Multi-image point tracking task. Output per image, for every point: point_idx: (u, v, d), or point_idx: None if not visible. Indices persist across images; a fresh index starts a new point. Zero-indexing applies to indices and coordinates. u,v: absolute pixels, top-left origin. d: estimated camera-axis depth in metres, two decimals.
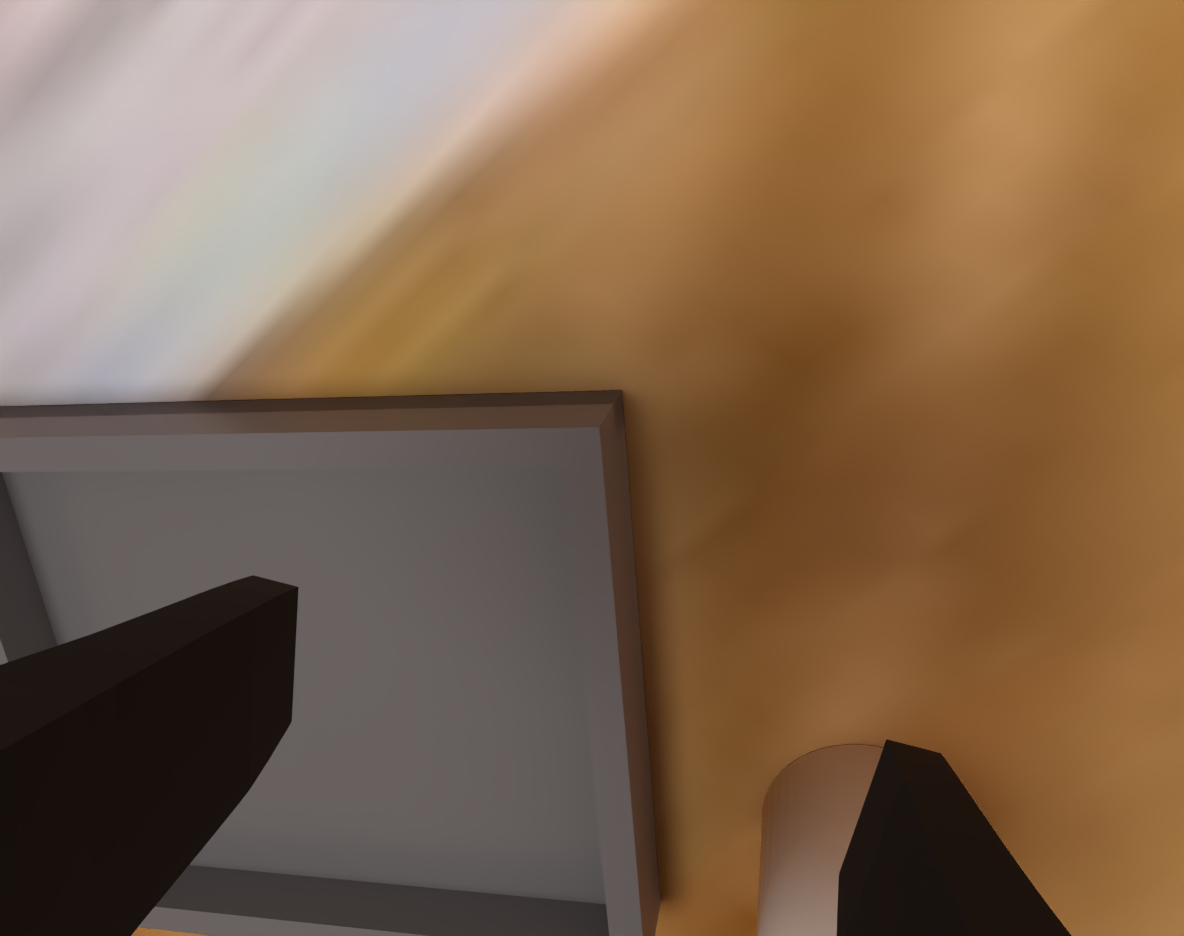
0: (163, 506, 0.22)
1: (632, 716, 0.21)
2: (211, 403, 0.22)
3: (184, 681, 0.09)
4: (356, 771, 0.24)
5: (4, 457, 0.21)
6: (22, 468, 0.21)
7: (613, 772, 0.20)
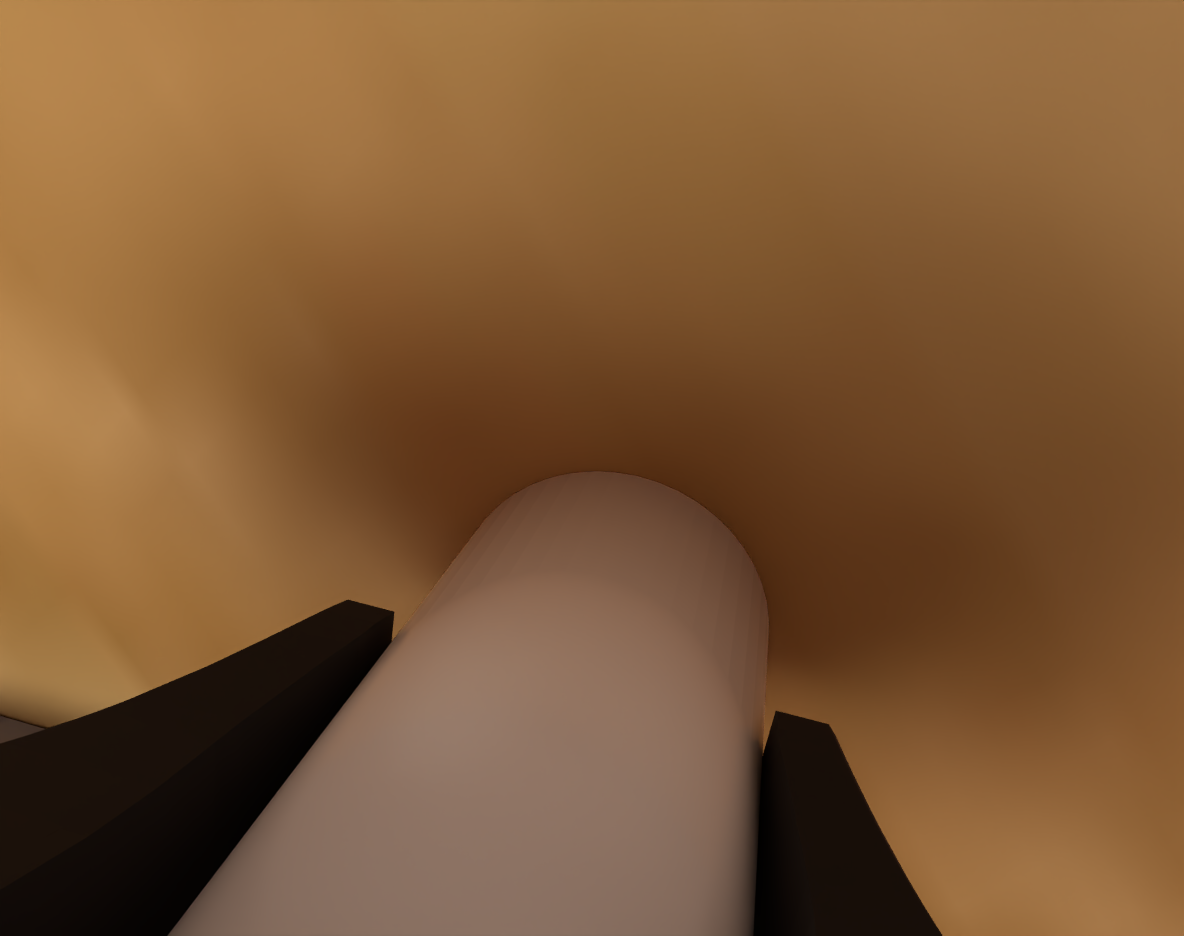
0: None
1: None
2: None
3: (298, 713, 0.09)
4: None
5: None
6: None
7: None
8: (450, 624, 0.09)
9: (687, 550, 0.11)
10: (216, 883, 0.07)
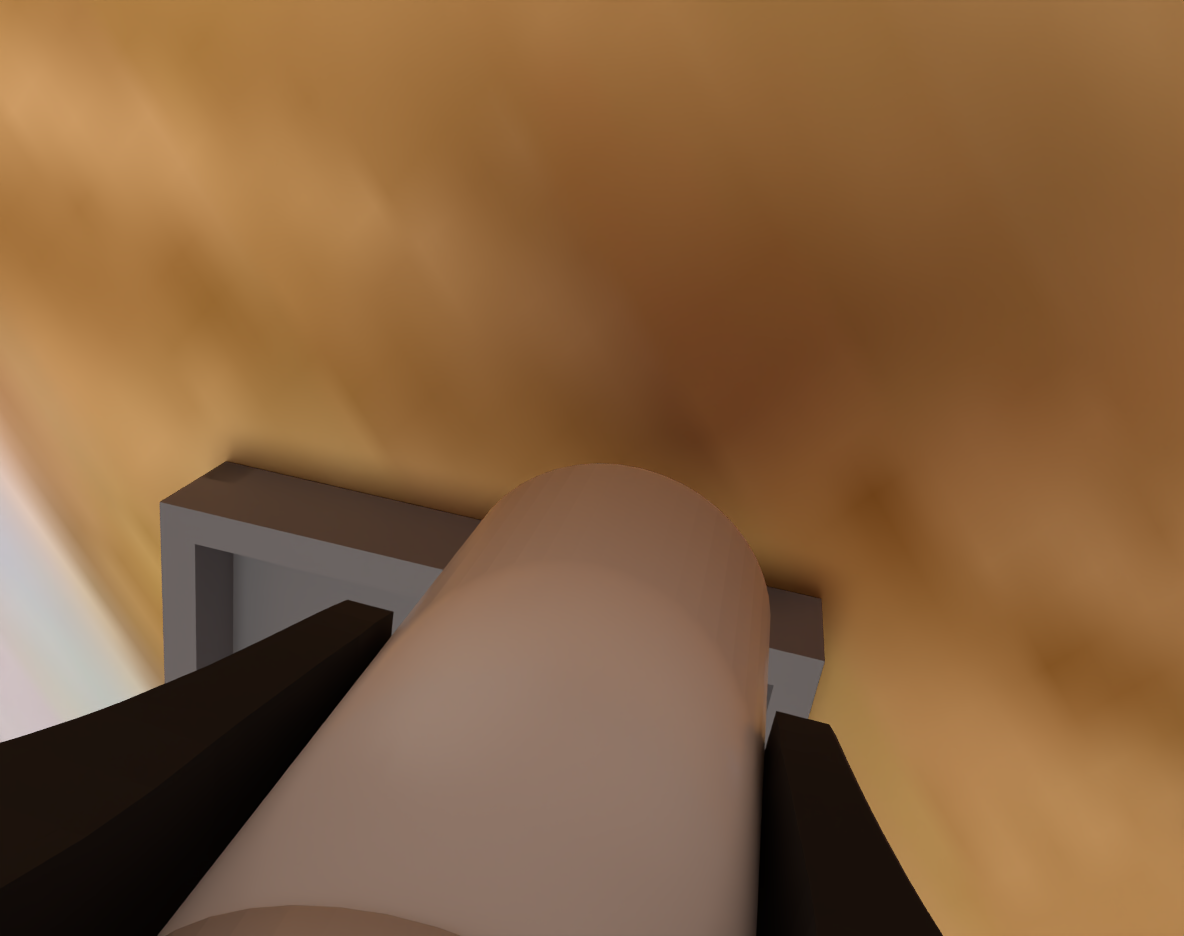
0: None
1: None
2: None
3: (298, 713, 0.09)
4: None
5: None
6: None
7: None
8: (459, 608, 0.09)
9: (691, 540, 0.11)
10: (230, 854, 0.07)
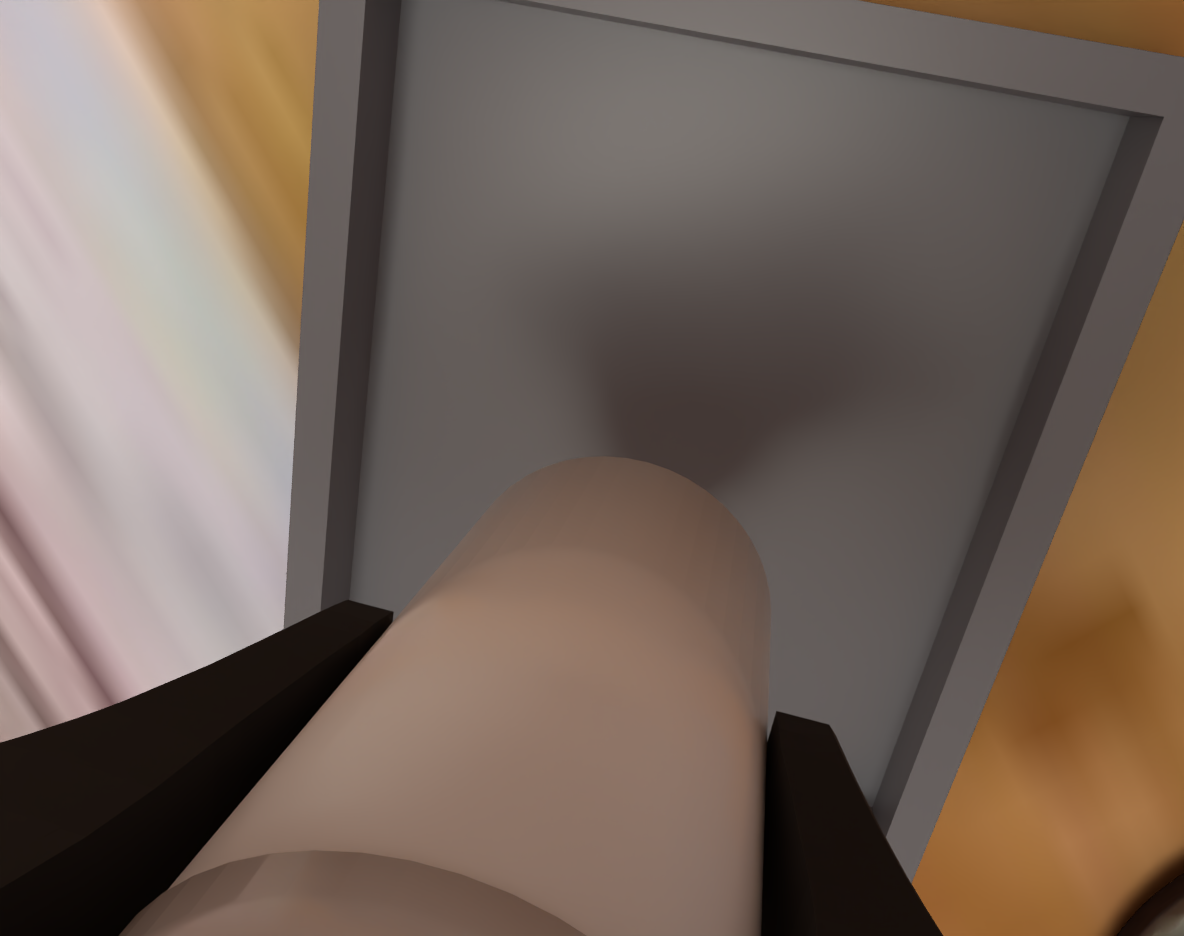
0: (421, 516, 0.20)
1: None
2: None
3: (298, 713, 0.09)
4: (800, 442, 0.18)
5: None
6: (315, 613, 0.20)
7: (811, 17, 0.14)
8: (471, 584, 0.09)
9: (699, 532, 0.12)
10: (244, 809, 0.07)
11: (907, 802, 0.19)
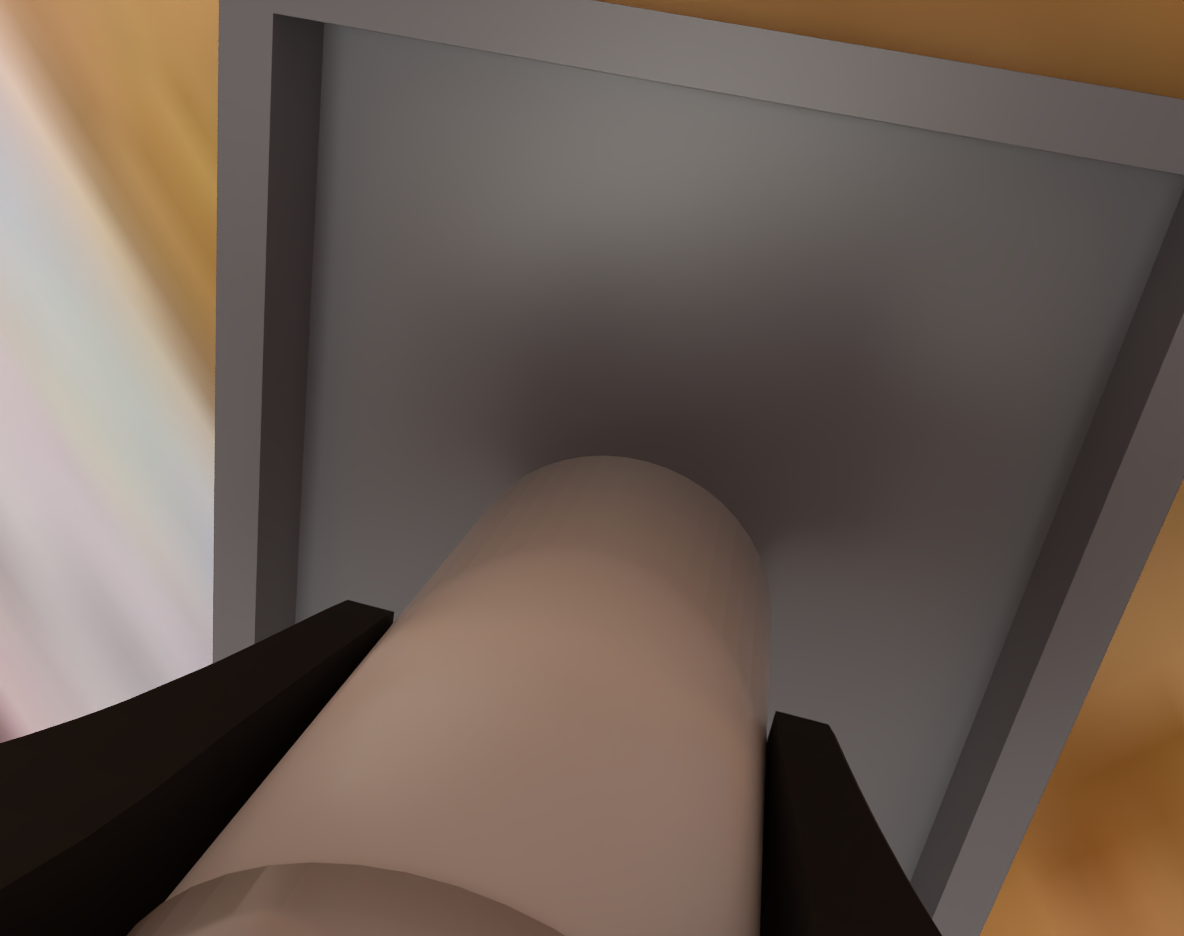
0: None
1: None
2: None
3: (298, 713, 0.09)
4: (797, 546, 0.15)
5: None
6: None
7: (801, 65, 0.12)
8: (468, 588, 0.09)
9: (698, 532, 0.12)
10: (242, 818, 0.07)
11: None
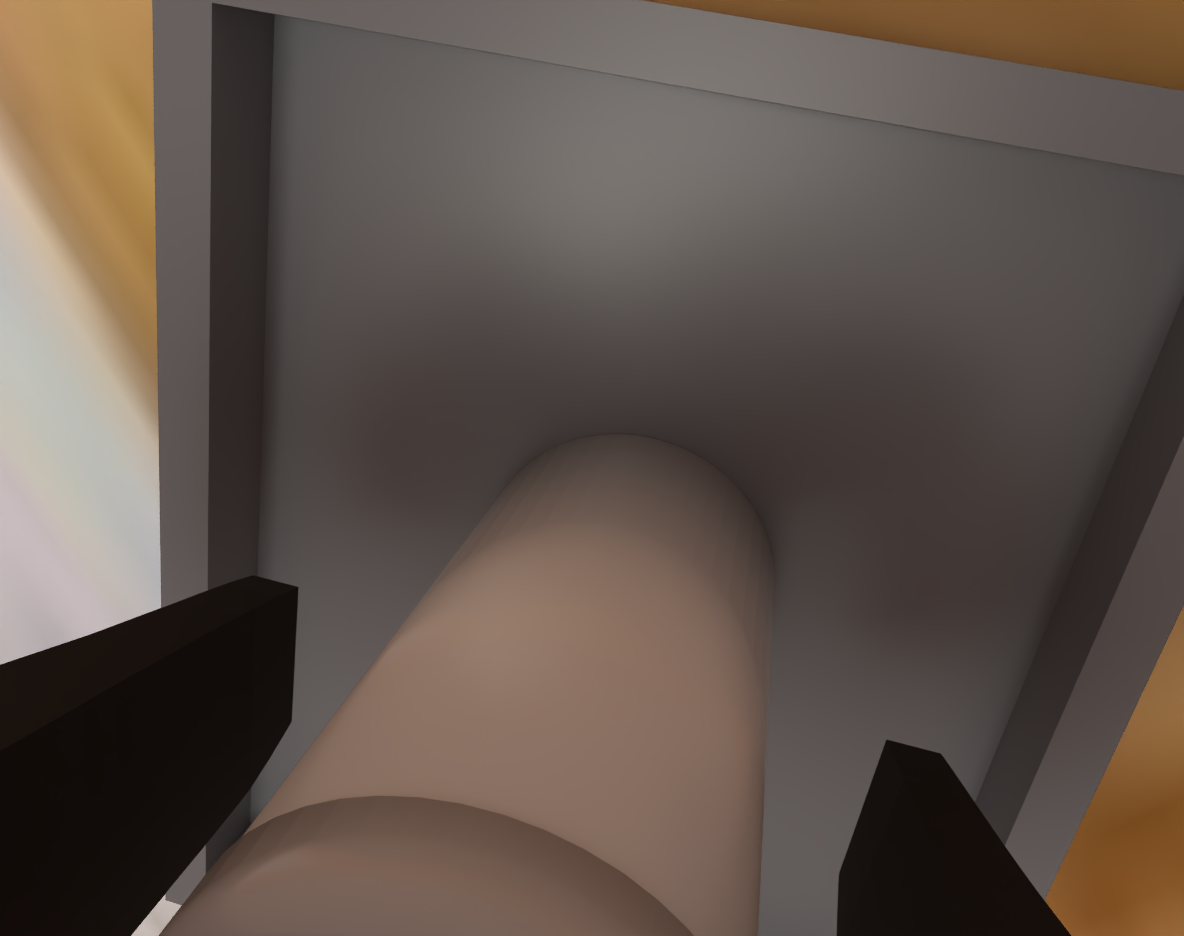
0: (331, 661, 0.16)
1: None
2: None
3: (184, 681, 0.09)
4: (794, 585, 0.14)
5: None
6: None
7: (799, 61, 0.10)
8: (497, 560, 0.10)
9: (706, 506, 0.12)
10: (310, 761, 0.08)
11: None
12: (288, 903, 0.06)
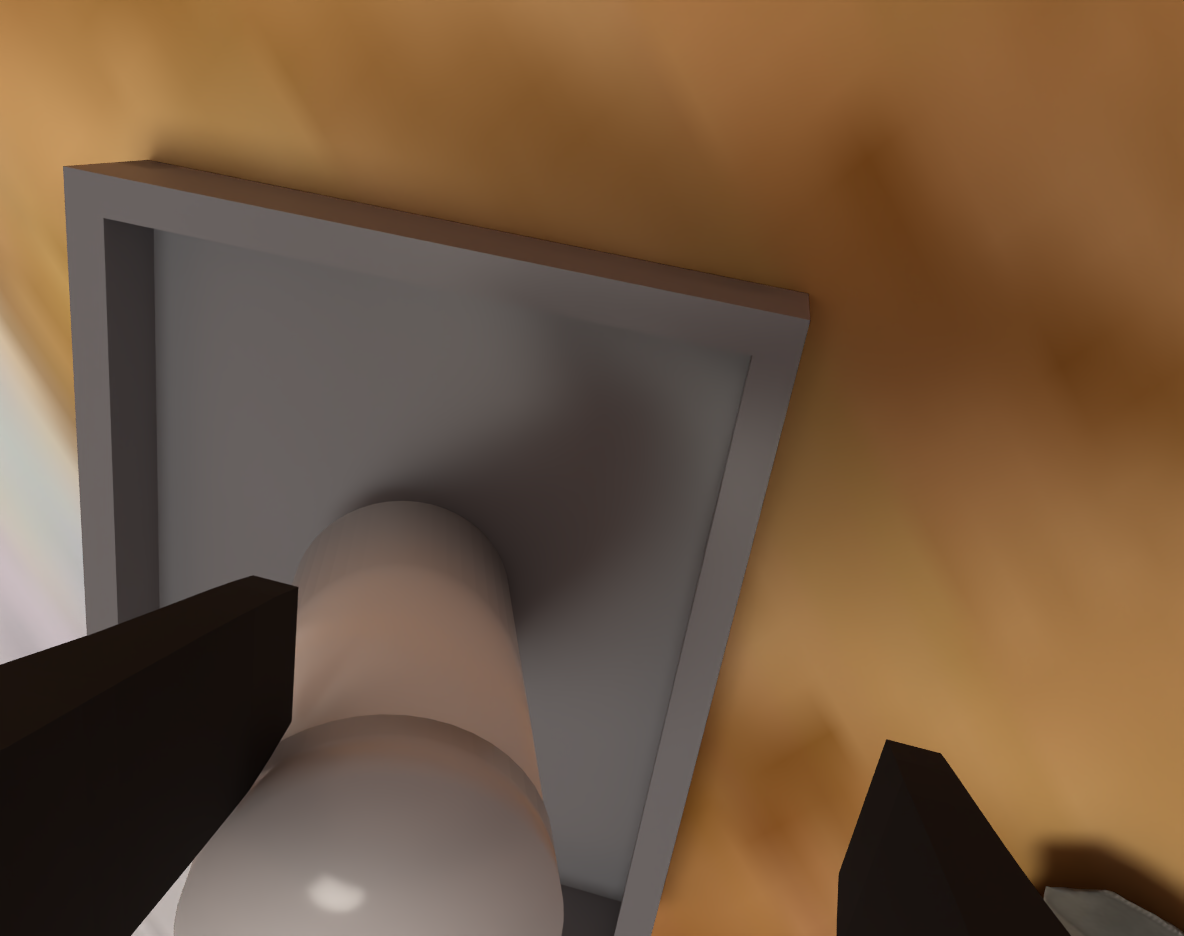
0: None
1: (437, 233, 0.17)
2: None
3: (184, 681, 0.09)
4: (522, 593, 0.20)
5: None
6: None
7: (462, 268, 0.17)
8: (338, 595, 0.16)
9: (461, 542, 0.18)
10: None
11: (628, 906, 0.21)
12: (307, 772, 0.11)
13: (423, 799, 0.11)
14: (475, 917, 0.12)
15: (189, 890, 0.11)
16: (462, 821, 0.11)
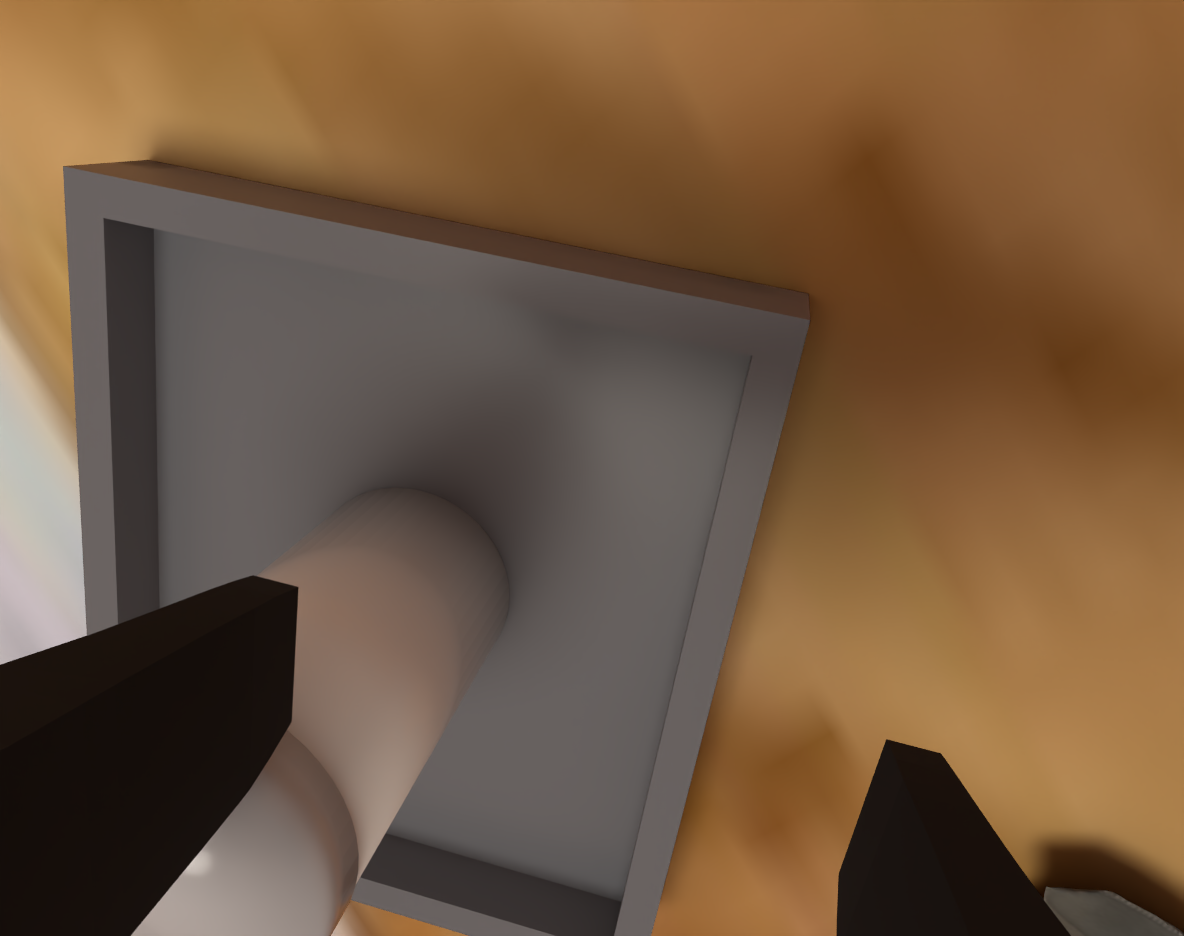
0: None
1: (437, 233, 0.17)
2: None
3: (184, 681, 0.09)
4: (522, 593, 0.20)
5: None
6: None
7: (462, 268, 0.17)
8: (272, 570, 0.17)
9: (435, 534, 0.19)
10: None
11: (628, 906, 0.21)
12: None
13: None
14: (237, 895, 0.12)
15: None
16: None
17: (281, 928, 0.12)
